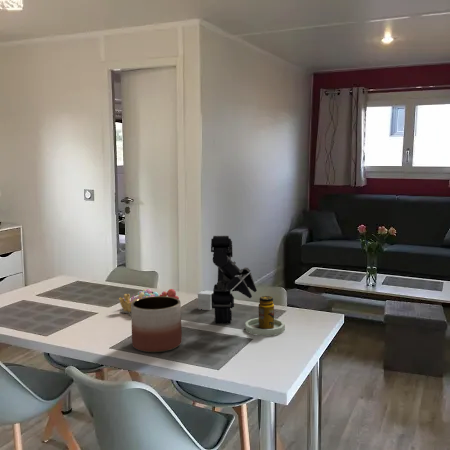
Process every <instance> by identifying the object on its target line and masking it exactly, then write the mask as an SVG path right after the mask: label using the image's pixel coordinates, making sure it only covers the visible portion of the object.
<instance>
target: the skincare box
mask: <svg viewBox="0 0 450 450" xmlns="http://www.w3.org/2000/svg"><path fill="white" fill-rule="evenodd" d="M212 294H213V290H201V291H200V292H198V293H197V309H198V310H201V309H202V310H204V311H212V310H213V309H212Z"/></svg>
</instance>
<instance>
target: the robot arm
mask: <svg viewBox="0 0 450 450" xmlns="http://www.w3.org/2000/svg"><path fill="white" fill-rule="evenodd" d="M210 242H211V243H210V244H211V245H210V252H211V253H212V263H213V265H215V266H216V267H217V283H215V284H214V286H213V290H212V291H213V294H212V308H213V309H214V320H213V321H214V324H215V325H217V324H218V325H220V324H226V325H227V324H231V323H232V320H233V319H232V316H233V315H232V314H233V311H232V309H233V308H235V296H234V294H233V293H231V292H239V293H241V294H242V295H243V296H246V297H247V298H249V299H251V298H252V297H253V295H252V293H251V291H252V292H253V293H256V292H257V291H258V290H257V286H256V284H255V282H254V279H253V276H252V272H251V269H250V268H249V267H243V268H241V269H240V268H239V267H238V266H237V265H236V262H235V261H232V258H233V241H232V238H231V237H230V236H229V235H213V237H212V238H211V241H210ZM250 290H251V291H250Z"/></svg>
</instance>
